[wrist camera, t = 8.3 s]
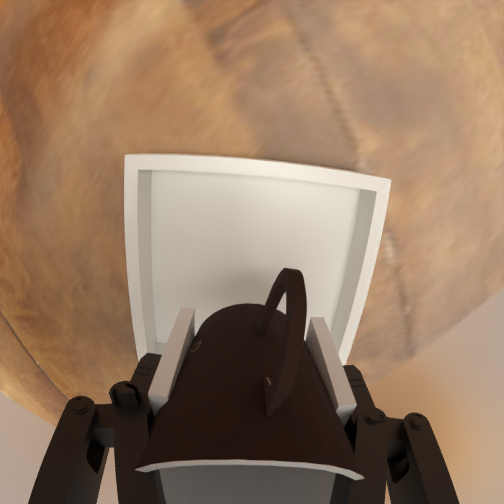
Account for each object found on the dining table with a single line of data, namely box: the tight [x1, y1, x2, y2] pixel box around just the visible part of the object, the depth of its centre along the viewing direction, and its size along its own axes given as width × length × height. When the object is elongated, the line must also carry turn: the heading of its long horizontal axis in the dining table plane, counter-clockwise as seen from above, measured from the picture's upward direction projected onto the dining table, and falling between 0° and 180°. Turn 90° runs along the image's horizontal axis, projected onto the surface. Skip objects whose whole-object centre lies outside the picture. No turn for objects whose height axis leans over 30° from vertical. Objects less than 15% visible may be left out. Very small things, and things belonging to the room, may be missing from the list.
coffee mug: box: [135, 268, 365, 504], centre depth 12 cm, size 12×9×10 cm
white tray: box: [124, 153, 391, 365], centre depth 23 cm, size 18×18×4 cm
